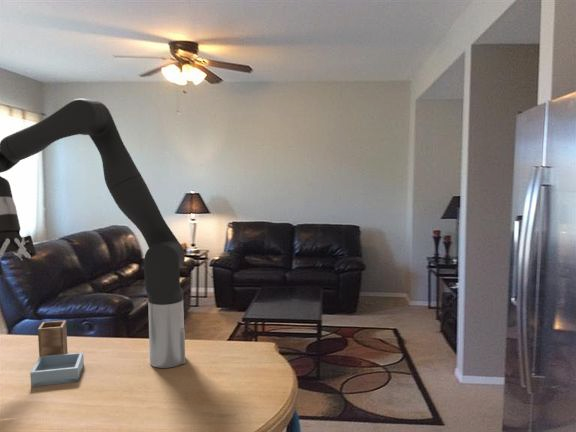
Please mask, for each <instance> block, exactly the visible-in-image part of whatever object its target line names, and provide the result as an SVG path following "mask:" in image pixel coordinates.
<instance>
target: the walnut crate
mask: <svg viewBox="0 0 576 432" xmlns="http://www.w3.org/2000/svg"><path fill="white" fill-rule="evenodd" d="M67 331H68V330H67V320H65V319H64V320H54V321H42V322H41V324H40V325H39V327H38V328H37V337H38V339H37V340H38V358H39V357H40V356H48V355H59V354H69V352H68V333H67Z"/></svg>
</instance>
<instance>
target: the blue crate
mask: <svg viewBox="0 0 576 432" xmlns="http://www.w3.org/2000/svg"><path fill="white" fill-rule="evenodd" d="M84 362H85V357H84V352H83V351H82V352H72V353H68V354H59V355H48V356H40V357H39V356H38V359H37V360H36V362H35V364H34V366H33V367H32V369H31V371H30V373H29V375H30V377H29V378H30V387H32V388H33V387H39V386H49V385H51V386H52V385H58V384H68V383H69V384H70V383H76V382H79V381H80V377H81V374H82V371H83V368H84V366H85V365H84V364H85V363H84Z"/></svg>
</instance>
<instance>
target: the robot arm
mask: <svg viewBox="0 0 576 432" xmlns="http://www.w3.org/2000/svg"><path fill="white" fill-rule="evenodd" d="M78 135H81V136H89V138H90V139H91V140H92V142H93V144H94V146H95V147H96V149H97V151H98V153H99V155H100V159H101V162H102V170H103V176H104V177H103V178H104V182H105V184H106V187H107V189H108V191H109V194H110V195H111V197H112V198H113V201H114V203H115V204H116V205H117V207H118V209H119V210H120V211H121V212H122V213H123V214H124V216H126V218H127V219H128V220H129V221H130V222H131V223H132V224H134V226H135V227H136V228H137V229H138V230H139V232H140V233H141V235H142V236H143V239H144V241H145V243H146V245H147V247H148V249H147V250H146V252H145V254H144V259H143V270H144V271H143V273H144V286H145V292H146V294H147V301H148V303H147V304H148V309H147V310H148V338H149V339H148V340H149V342H148V343H149V364H150V366H152V367H153V368H159V369H168V368H173V367H178V366H180V365H184V364H186V342H185V341H186V333H185V322H184V321H185V320H184V318H185V316H184V315H185V311H184V289H183V288H182V287H181V282H180V281H181V280H180V278H181V277H180V275H181V274H180V269H181V268H182V267H183V265H184V264H185V259H186V255H185V251H184V247H183V245H182V244H181V243H180V241H179V240H178V238H177V237H176V236H175V234H174V233H173V231H172V230H171V228H170V227H169V225H168V224H167V222H166V220H165V219H164V217H163V215H162V213H161V211H160V209H159V206H158V205H157V202H156V201H155V199H154V197H153V195H152V193H151V191H150V189H149V187H148V185H147V183H146V181H145V180H144V178H143V175H142V174H141V173H140V171H139V169H138V167H137V165H136V163H135V162H134V160H133V158H132V156H131V153H129V151H128V149H127V147H126V146H125V144H124V141H123V140H122V137H121V134H120V133H119V130H118V127H117V125H116V123H115V121H114V118H113V116H112V114H111V111H110V110H109V108H108V107H107V106H106V105H105V104H104V103H103V102H101V101H99V100H96V99H90V98H89V99H88V98H75V99H73V100H71V101H70V102H68V103H67V104H65V105H64V106H62V107H61V108H59V109H58V110H57V111H55V112H53V113H51V114H50V115H49V116H47V117H45V118H44V119H42V120H40V121H39V122H37V123H35V124H32V125H30V126H28V127H25V128H23V129H21V130H17V131H16V132H13V133H12V134H9V135H7V136H4V137H3V138H2V139H1V141H0V174H1V173H4V172H7V171H9V170H11V169H12V168H13V167H15V166H16V165H17V164H18V163H19V162H20V161H22V160H25V159H27V158H29V157H32V156H35V155H36V154H38V153H41V152H42V151H43V150H45V149H47V148H48V147H49V146H50V145H51V144H53V143H55V142H57V141H59V140H62V139H64V138H68V137H73V136H78ZM10 184H11V183H10V182H9V180H8V179H6V178H4V177H2V176H1V175H0V259H1V258H2V256H3V255H5V254H13V255H14V256H17V257H18V258H19V259H20V261H21V267H22V272H23V274H24V275H27V274H31V273H32V270H33V267H32V262H31V258H33V257H36V255H37V252H36V249H35V245H34V242H33V238H32V236H31V235H26V236H21V234H20V232H21V225H20V220H19V215H18V212H17V211H18V210H17V206H16V204H15V201H14V198H13V192H12V189H11V185H10ZM3 276H4V272H3V267H2V262H1V261H0V277H3Z"/></svg>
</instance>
